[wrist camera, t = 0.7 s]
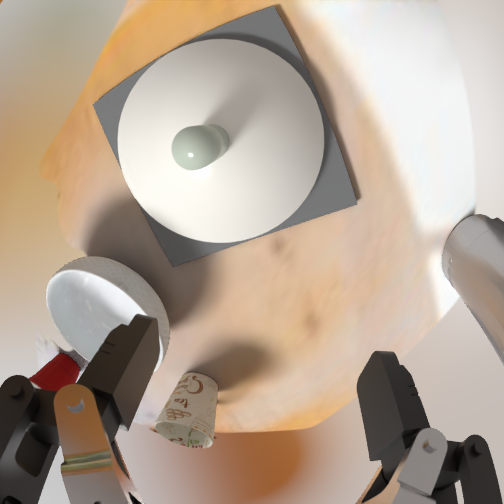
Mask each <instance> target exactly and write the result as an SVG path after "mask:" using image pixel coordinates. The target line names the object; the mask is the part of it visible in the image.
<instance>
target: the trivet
mask: <svg viewBox="0 0 504 504" xmlns="http://www.w3.org/2000/svg"><path fill="white" fill-rule="evenodd" d="M210 39H231V40H240V41H244V42H248V43H253V44H255V45H258V46H260V47H263V48H265V49H267V50H269V51H271V52H273V53H275V54H276V55H278V56H280V57H281V58H282V59H284V60H285V61H286V62H287V63H289V64H290V65H291V66H292V67H293V68H294V69H295V70H296V71H297V72H298V73H299V74H300V75H301V76H302V78H303V79H304V81H305V82H306V83H307V85H308V86H309V88H310V89H311V91H312V93H313V95H314V97H315V99H316V101H317V104H318V107H319V110H320V113H321V117H322V122H323V128H324V151H323V159H322V163H321V167H320V171H319V174H318V176H317V179H316V181H315V184H314V186H313V187H312V189H311V191H310V193H309V194H308V196H307V198H306V199H305V200H304V202H303V203H302V204H301V205H300V207H299V208H298V209H297V210H296V211H295V212H294V213H293V214H292V215H291V216H290V217H289V218H288V219H286V220H285V221H284V222H282V223H281V224H280V225H278V226H277V227H275V228H273V229H271V230H270V231H268V232H266V233H264V234H261V235H259V236H256V237H254V238H250V239H246V240H243V241H236V242H229V243H214V242H204V241H199V240H195V239H191V238H188V237H185V236H182V235H180V234H178V233H176V232H174V231H172V230H170V229H168V228H166V227H165V226H163V225H162V224H160V223H159V222H158V221H156V220H155V219H154V218H153V217H152V216H150V215H149V214H148V213H147V212H146V211H145V210H144V208H143V207H142V206H141V205H140V204H139V202H138V201H137V202H138V204H139V206H140V208H141V210H142V212H143V214H144V215H145V217H146V219H147V221H148V223H149V225H150V227H151V229H152V230H153V232H154V234H155V236H156V238H157V240H158V241H159V243H160V245H161V247H162V249H163V250H164V252H165V254H166V256H167V257H168V259H169V261H170V263H171V264H172V266H173V267H174V266H177V265H180V264H183V263H186V262H189V261H191V260H194V259H197V258H200V257H203V256H206V255H209V254H212V253H214V252H217V251H220V250H223V249H226V248H229V247H232V246H235V245H238V244H241V243H243V242H246V241H249V240H252V239H255V238H258V237H261V236H264V235H267V234H270V233H273V232H276V231H279V230H282V229H285V228H288V227H291V226H294V225H297V224H300V223H302V222H305V221H308V220H311V219H314V218H317V217H320V216H323V215H326V214H330V213H333V212H336V211H339V210H342V209H345V208H348V207H351V206H354V205H357V201H356V198H355V195H354V191H353V188H352V185H351V182H350V178H349V175H348V172H347V169H346V166H345V163H344V160H343V157H342V154H341V151H340V149H339V146H338V143H337V140H336V138H335V135H334V132H333V130H332V127H331V124H330V122H329V119H328V117H327V114H326V112H325V109H324V107H323V104H322V102H321V100H320V97H319V95H318V93H317V90H316V88H315V86H314V83H313V81H312V79H311V77H310V75H309V72H308V70H307V68H306V66H305V64H304V62H303V60H302V58H301V56H300V54H299V52H298V50H297V48H296V46H295V44H294V42H293V40H292V38H291V36H290V34H289V32H288V30H287V29H286V27H285V25H284V23H283V21H282V19H281V18H280V16H279V14H278V12H277V11H276V9H275V7H274V6H272V7H269V8H266V9H263V10H260V11H257V12H255V13H252V14H249V15H246V16H244V17H241V18H239V19H236V20H234V21H231V22H229V23H227V24H224V25H222V26H220V27H217V28H215V29H213V30H211V31H209V32H206V33H204V34H202V35H200V36H198V37H196V38H194V39H192V40H190V41H188V42H186V43H185V44H183V45H181V46H179V47H177V48H175V49H174V50H176V49H178V48H180V47H182V46H185V45H188V44H191V43H194V42H199V41H204V40H210ZM174 50H172V51H174ZM172 51H170V52H172ZM170 52H168V53H170ZM168 53H167V54H168ZM167 54H165V55H167ZM165 55H163V56H161V57H160V58H158V59H156V60H155V61H153V62H152V63H150V64H148V65H147V66H145V67H144V68H142V69H141V70H139V71H138V72H136V73H135V74H133V75H132V76H130V77H129V78H127V79H126V80H124V81H123V82H122V83H120V84H119V85H117V86H116V87H115V88H113V89H112V90H111V91H109V92H108V93H107V94H105V95H104V96H103V97H102V98H100V99H99V100H98V101H97V102H95V103H94V104H93V106H94V109H95V111H96V113H97V116H98V118H99V121H100V123H101V125H102V128H103V130H104V132H105V135H106V137H107V139H108V141H109V144H110V146H111V148H112V150H113V152H114V155H115V157H116V159H117V161H118V163H119V165H120V161H119V154H118V128H119V122H120V118H121V113H122V110H123V108H124V105H125V102H126V100H127V98H128V96H129V94H130V92H131V90H132V89H133V87H134V86H135V84H136V83H137V81H138V80H139V78H140V77H141V76H142V75H143V74H144V73H145V72H146V71H147V69H148V68H150V67H151V66H152V65H153V64H154V63H155V62H157V61H158V60H159V59H161V58H162V57H164V56H165ZM120 167H121V165H120ZM121 170H122V169H121Z"/></svg>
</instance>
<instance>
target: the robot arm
mask: <svg viewBox="0 0 504 504" xmlns="http://www.w3.org/2000/svg"><path fill="white" fill-rule="evenodd" d="M442 267H443V272H444V274H445V276H446V278H447V279H448V280H449V282H450V283H451V285H452V286H453V287H454V288H455V290H456V291H457V293H458V294H459V295H460V297H461V298H462V300H463V301H464V303H465V304H466V305H467V307H468V308H469V309H470V311H471V313H472V314H473V316H474V317H475V319H476V320H477V322H478V323H479V325H480V326H481V328H482V329H483V331H484V333H485V334H486V336H487V337H488V339H489V341H490V342H491V344H492V346H493V347H494V349H495V351H496V353H497V354H498V356H499V358H500V360H501V361H502V363H503V365H504V222H503V221H502V220H500V219H499V218H495V219H491V218H489V217H487V216H485V215H482V214H477V215H472V216H470V217H467V218H466V219H464V220H463V221H461V222H460V223H459V224H458V225H457V226H456V227H455V229H454V230H453V231H452V233H451V234H450V236H449V238H448V240H447V242H446V244H445V247H444V251H443V255H442ZM159 355H160V341H159V329H158V320H157V318H154V317H150V316H146V315H142V314H136V315H135V316H134V317H133V319H132V320H131V322H130V323H129V325H125V324H120V325H119V326H117V327H116V328H114V329H113V330H111V331H110V333H109V334H108V336H107V337H106V339H105V340H104V343H102V345H101V346H100V348H99V350H98V351H97V352H96V354H95V355H94V357H93V358H92V360H91V361H90V363H89V364H88V366H87V367H86V369H85V371H84V372H83V374H82V375H81V377H80V379H79V380H78V381H77V383H76V384H70V385H66V386H64V387H62V388H61V389H60V390H59V391H52V390H45V389H39V388H34V386H33V384H32V383H31V381H30V380H29V379H28V378H26V377H24V376H21V375H14V376H11V377H9V378H8V379H6V380H5V381H4V383H3V384H2V385H1V387H0V504H38V501H39V498H40V495H41V492H42V489H43V486H44V484H45V481H46V478H47V476H48V473H49V470H50V467H51V465H52V462H53V460H54V457H55V455H56V453H57V450H58V448H59V446H61V447H62V452H63V456H64V463H62V464H61V474H62V478H63V481H64V484H65V488H66V491H67V494H68V497H69V500H70V503H71V504H145V503H144V501H143V499H142V498H141V495H140V494H139V492H138V490H137V488H136V487H135V485H134V483H133V481H132V479H131V477H130V475H129V472H128V470H127V467H126V465H125V463H124V460H123V458H122V455H121V452H120V450H119V447H118V444H117V442H116V439H115V435H116V433H117V431H118V428H120V429H123V430H125V431H128V430H129V428H130V426H131V423H132V421H133V418H134V416H135V414H136V411H137V409H138V406H139V404H140V402H141V399H142V397H143V395H144V392H145V390H146V388H147V385H148V383H149V381H150V378H151V376H152V374H153V372H154V369H155V367H156V365H157V362H158V359H159ZM357 394H358V398H359V403H360V408H361V413H362V418H363V423H364V429H365V434H366V439H367V445H368V451H369V458H370V461H376V460H381V463H382V465H381V466H380V467H379V468H378V470H377V471H376V473H375V475H374V476H373V478H372V480H371V482H370V483H369V484H368V486H367V488H366V489H365V491H364V492H363V494H362V495H361V497H360V498H359V499H358V501H357V503H356V504H458V501H457V495H456V489H455V484H454V483H456V482H457V481H459V480H460V481H461V486H462V492H463V497H464V504H503V503H502V498H501V493H500V489H499V484H498V479H497V475H496V471H495V468H494V464H493V460H492V457H491V454H490V450H489V447H488V444H487V442H486V441H485V439H484V438H482V437H481V436H479V435H471V436H469V437H468V438H467V439H466V440H465V441H463V442H454V441H447V440H446V438H445V436H444V435H443V434H442V433H441V432H440V431H438V430H437V429H434V428H431V427H430V425H429V422H428V419H427V416H426V413H425V411H424V408H423V405H422V402H421V400H420V397H419V396H418V392H417V389H416V387H415V384H414V381H413V378H412V376H411V374H410V373H409V372H408V370H407V369H406V368H405V367H404V366H403V365H400V364H399V361H398V359H397V356H396V354H395V353H394V352H388V351H375V352H374V353H373V354H372V355H371V357H370V359H369V361H368V363H367V364H366V366H365V368H364V369H363V371H362V373H361V374H360V376H359V378H358V382H357Z"/></svg>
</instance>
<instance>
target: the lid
mask: <svg viewBox="0 0 504 504" xmlns="http://www.w3.org/2000/svg"><path fill="white" fill-rule="evenodd" d="M323 151H324V128H323V122H322V117H321V113H320V110H319V107H318V104H317V101H316V99H315V97H314V95H313V93H312V91H311V89H310V88H309V86H308V85H307V83H306V82H305V81H304V79H303V78H302V76H301V75H300V74H299V73H298V72H297V71H296V70H295V69H294V68H293V67H292V66H291V65H290V64H289V63H287V62H286V61H285V60H284V59H282V58H281V57H280V56H278V55H276V54H275V53H273V52H271V51H269V50H267V49H265V48H263V47H260V46H258V45H255V44H253V43H248V42H244V41H240V40H231V39H210V40H204V41H199V42H194V43H191V44H188V45H185V46H182V47H180V48H178V49H176V50H174V51H172V52H170V53H168V54H167V55H165V56H164V57H162V58H161V59H159V60H158V61H157V62H155V63H154V64H153V65H152V66H151V67H150V68H148V69H147V71H146V72H145V73H144V74H143V75H142V76H141V77H140V78H139V80H138V81H137V83H136V84H135V86H134V87H133V89H132V90H131V92H130V94H129V96H128V98H127V100H126V102H125V105H124V108H123V110H122V113H121V118H120V122H119V128H118V154H119V161H120V165H121V169H122V172H123V175H124V178H125V180H126V182H127V185H128V187H129V188H130V190H131V192H132V194H133V195H134V197H135V198H136V200H137V201H138V202H139V204H140V205H141V206H142V207H143V208H144V210H145V211H146V212H147V213H148V214H149V215H150V216H152V217H153V218H154V219H155V220H156V221H158V222H159V223H160V224H162V225H163V226H165V227H166V228H168V229H170V230H172V231H174V232H176V233H178V234H180V235H182V236H185V237H188V238H191V239H195V240H199V241H204V242H214V243H229V242H236V241H243V240H246V239H250V238H254V237H256V236H259V235H261V234H264V233H266V232H268V231H270V230H271V229H273V228H275V227H277V226H278V225H280V224H281V223H282V222H284V221H285V220H286V219H288V218H289V217H290V216H291V215H292V214H293V213H294V212H295V211H296V210H297V209H298V208H299V207H300V205H301V204H302V203H303V202H304V200H305V199H306V198H307V196H308V194H309V193H310V191H311V189H312V187H313V186H314V184H315V181H316V179H317V176H318V174H319V171H320V167H321V163H322V159H323Z"/></svg>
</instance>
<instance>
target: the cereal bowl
mask: <svg viewBox="0 0 504 504" xmlns="http://www.w3.org/2000/svg"><path fill="white" fill-rule="evenodd" d="M46 301H47V307H48V310H49V313H50V316H51V318H52V320H53V322H54V324H55V326H56V328H57V329H58V331H59V332H60V334H61V335H62V336H63V338H64V339H65V340H66V341H67V342H68V343H69V345H70V346H71V347H72V348H73V349H74V350H75V351H77V352H78V353H79V354H80V355H81V356H82V357H84V358H85V359H86V360H88V361H89V362H90V361H91V360H92V358H93V357H94V355H95V354H96V352H97V351H98V350H99V348H100V346H101V345H102V343H104V340H105V339H106V337H107V336H108V334H109V333H110V331H111V330H113V329H114V328H116V327H117V326H119V325H120V324H125V325H129V323H130V322H131V320H132V319H133V317H134V316H135V315H136V314H142V315H146V316H150V317H154V318H157V320H158V329H159V341H160V355H159V359H158V362H157V365H156V367H155V369H154V372H155V371H156V370H157V369H158V368H159V367H160V365H161V364H162V362H163V360H164V357H165V355H166V352H167V349H168V345H169V339H170V325H169V320H168V317H167V313H166V310H165V308H164V306H163V303H162V302H161V300H160V298H159V296H158V295H157V293H156V292H155V291H154V290H153V288H152V287H151V286H150V285H149V284H148V283H147V282H146V281H145V280H144V279H143V278H142V277H141V276H140V275H138V274H137V273H136V272H135V271H133V270H132V269H130V268H129V267H127V266H125V265H124V264H122V263H119V262H118V261H115V260H112V259H108V258H105V257H99V256H98V257H96V256H88V257H82V258H78V259H76V260H73V261H72V262H69V263H68V264H66V265H64V266H63V267H62V268H61V269H60V270H59V271H57V272H56V273H55V274H54V275H53V276H52V278H51V279H50V281H49V283H48V286H47V291H46ZM154 372H153V373H154Z"/></svg>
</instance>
